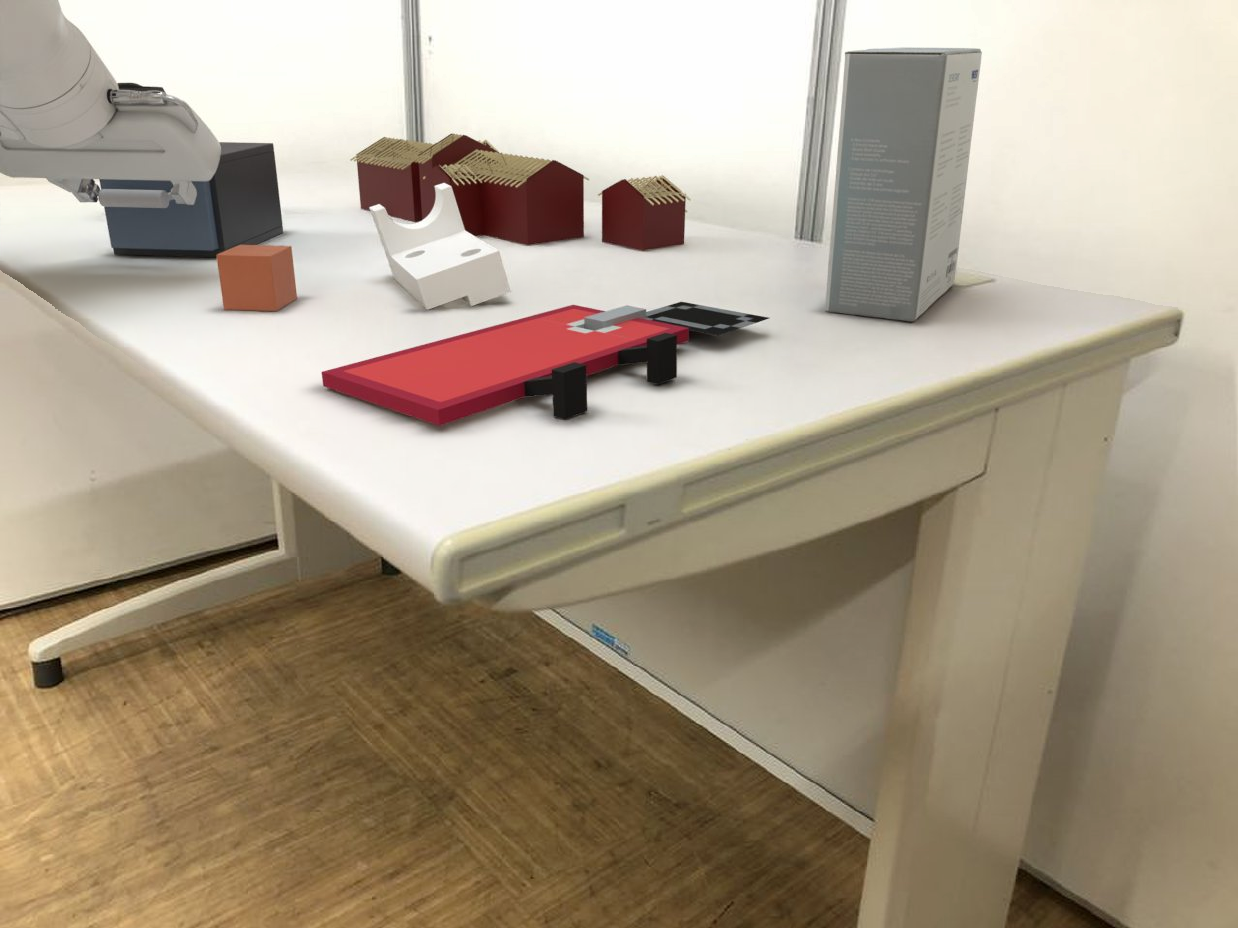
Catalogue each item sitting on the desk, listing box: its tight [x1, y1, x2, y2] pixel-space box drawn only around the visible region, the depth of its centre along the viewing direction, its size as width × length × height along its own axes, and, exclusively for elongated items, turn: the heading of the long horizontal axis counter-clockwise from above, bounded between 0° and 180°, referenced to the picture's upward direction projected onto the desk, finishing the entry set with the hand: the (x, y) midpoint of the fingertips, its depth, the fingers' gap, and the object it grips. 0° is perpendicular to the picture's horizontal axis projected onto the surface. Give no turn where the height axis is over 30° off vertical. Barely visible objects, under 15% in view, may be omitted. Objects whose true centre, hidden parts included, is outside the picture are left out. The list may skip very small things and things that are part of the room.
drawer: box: [98, 179, 219, 251], centre depth 103 cm, size 18×10×8 cm, turn 175°
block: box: [215, 244, 298, 312], centre depth 83 cm, size 4×4×4 cm
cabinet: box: [112, 141, 284, 258], centre depth 106 cm, size 15×12×10 cm
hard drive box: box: [824, 46, 983, 322], centre depth 84 cm, size 16×8×20 cm, turn 152°
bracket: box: [369, 183, 512, 311], centre depth 87 cm, size 13×7×8 cm, turn 23°
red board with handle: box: [321, 301, 770, 427], centre depth 69 cm, size 30×3×15 cm
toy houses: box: [349, 133, 692, 252], centre depth 118 cm, size 45×20×10 cm, turn 42°
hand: (139, 198), depth 96 cm, fingers open, 8 cm apart
